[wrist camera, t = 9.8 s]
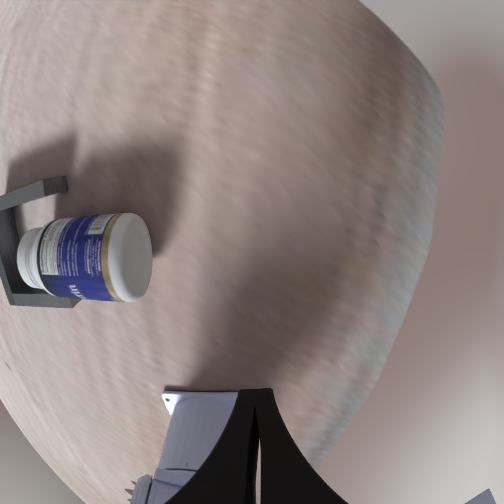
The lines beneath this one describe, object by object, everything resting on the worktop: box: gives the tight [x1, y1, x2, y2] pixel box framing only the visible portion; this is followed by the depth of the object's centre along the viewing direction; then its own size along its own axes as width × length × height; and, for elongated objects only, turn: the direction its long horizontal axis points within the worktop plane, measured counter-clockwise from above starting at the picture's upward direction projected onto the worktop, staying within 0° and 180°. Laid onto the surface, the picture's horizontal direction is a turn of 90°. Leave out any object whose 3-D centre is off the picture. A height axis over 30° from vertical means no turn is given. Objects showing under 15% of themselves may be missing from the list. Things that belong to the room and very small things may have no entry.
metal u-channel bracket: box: [0, 176, 82, 308], centre depth 18 cm, size 10×9×3 cm
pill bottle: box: [17, 213, 152, 302], centre depth 16 cm, size 6×6×10 cm
